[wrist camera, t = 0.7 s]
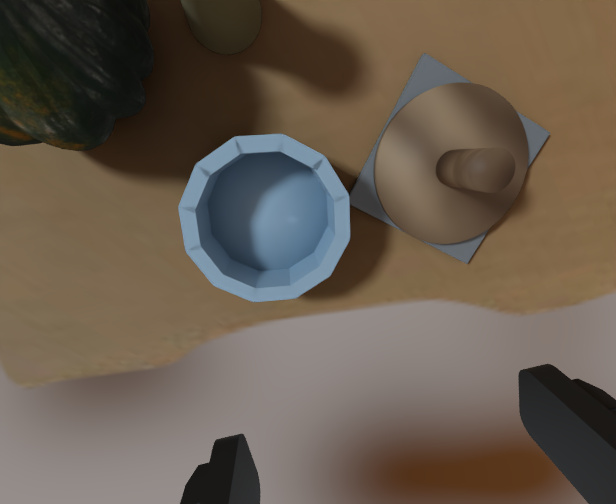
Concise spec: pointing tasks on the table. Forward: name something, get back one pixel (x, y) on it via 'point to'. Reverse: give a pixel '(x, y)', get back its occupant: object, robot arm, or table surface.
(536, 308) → the table surface
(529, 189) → the table surface
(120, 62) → the squash
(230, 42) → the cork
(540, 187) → the table surface
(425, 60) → the mat
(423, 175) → the lid
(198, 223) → the bowl
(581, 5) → the table surface
